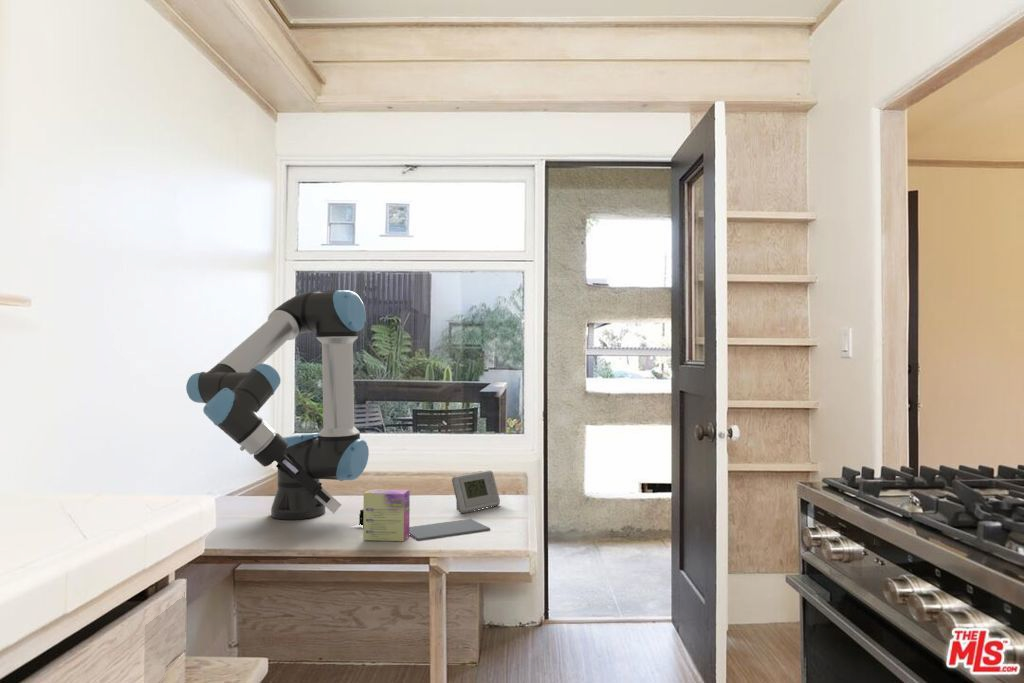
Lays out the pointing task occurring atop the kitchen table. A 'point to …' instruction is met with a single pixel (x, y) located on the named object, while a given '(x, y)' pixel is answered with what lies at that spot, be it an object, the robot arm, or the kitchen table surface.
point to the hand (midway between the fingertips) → (336, 508)
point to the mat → (446, 529)
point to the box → (386, 515)
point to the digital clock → (475, 491)
